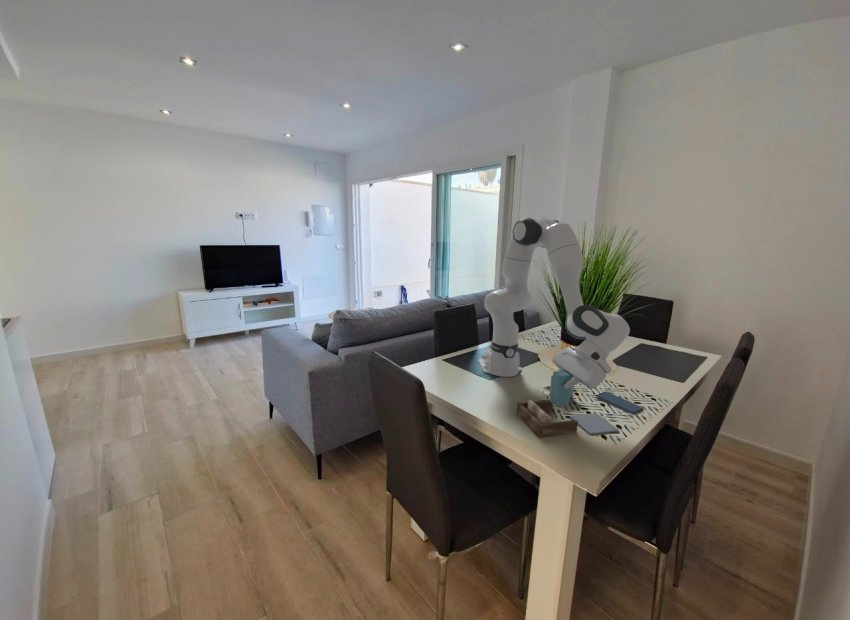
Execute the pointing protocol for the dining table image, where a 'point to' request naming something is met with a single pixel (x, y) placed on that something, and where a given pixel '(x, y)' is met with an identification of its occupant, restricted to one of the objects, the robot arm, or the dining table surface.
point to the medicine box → (570, 392)
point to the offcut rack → (545, 428)
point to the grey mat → (594, 424)
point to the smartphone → (619, 402)
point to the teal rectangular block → (560, 388)
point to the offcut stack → (538, 413)
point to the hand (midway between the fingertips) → (560, 383)
